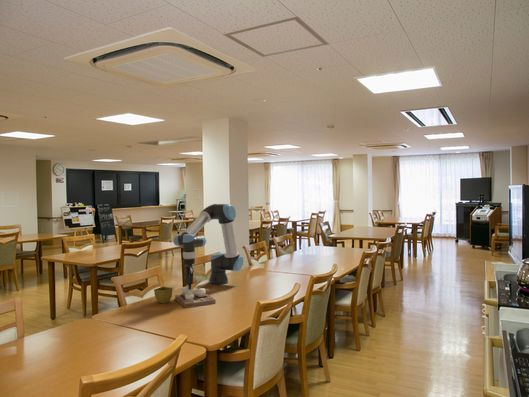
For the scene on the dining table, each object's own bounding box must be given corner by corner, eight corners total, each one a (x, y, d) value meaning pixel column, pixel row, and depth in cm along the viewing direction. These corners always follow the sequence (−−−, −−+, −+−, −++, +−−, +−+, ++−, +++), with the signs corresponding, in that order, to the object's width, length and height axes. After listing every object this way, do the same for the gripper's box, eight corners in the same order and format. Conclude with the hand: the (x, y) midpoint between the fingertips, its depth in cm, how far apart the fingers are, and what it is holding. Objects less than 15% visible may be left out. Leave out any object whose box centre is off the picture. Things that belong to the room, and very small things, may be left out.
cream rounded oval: (184, 300, 257) (183, 293, 257) (192, 299, 260) (192, 292, 260) (186, 302, 252) (186, 295, 252) (194, 301, 255) (194, 294, 255)
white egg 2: (192, 296, 268) (192, 290, 268) (200, 295, 270) (200, 289, 270) (194, 298, 263) (194, 291, 263) (202, 296, 266) (202, 290, 265)
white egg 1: (180, 293, 264) (180, 287, 264) (188, 292, 267) (188, 286, 267) (183, 295, 259) (182, 289, 259) (191, 294, 262) (191, 288, 262)
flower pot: (153, 303, 254) (153, 289, 254) (163, 299, 262) (162, 286, 262) (164, 304, 250) (163, 290, 250) (173, 301, 258) (173, 287, 258)
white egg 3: (195, 295, 261) (195, 288, 261) (203, 294, 263) (203, 287, 263) (198, 297, 256) (198, 290, 256) (206, 296, 258) (206, 289, 258)
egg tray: (175, 298, 265) (175, 294, 265) (203, 295, 274) (203, 291, 274) (185, 307, 243) (185, 303, 243) (215, 303, 253) (215, 299, 253)
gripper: (180, 257, 260) (180, 292, 260) (186, 259, 248) (186, 297, 248) (191, 256, 263) (191, 291, 263) (197, 258, 252) (197, 295, 252)
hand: (189, 294), depth 256 cm, fingers closed
